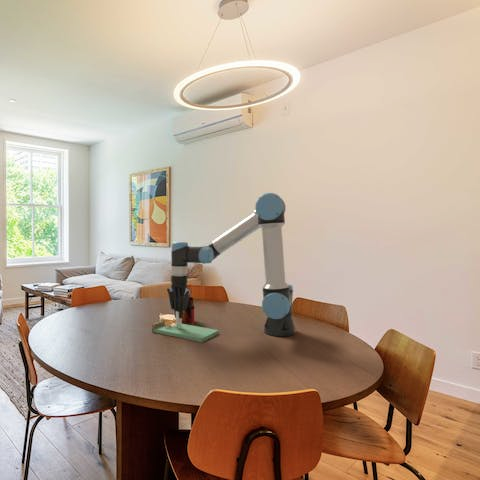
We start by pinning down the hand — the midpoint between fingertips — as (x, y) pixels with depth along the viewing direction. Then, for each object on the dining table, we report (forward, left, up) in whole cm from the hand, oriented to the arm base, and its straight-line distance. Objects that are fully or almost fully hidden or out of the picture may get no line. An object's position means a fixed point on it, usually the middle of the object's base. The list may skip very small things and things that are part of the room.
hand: (178, 324), depth 161 cm
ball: (+3, -1, -2) cm, 4 cm away
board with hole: (-4, 0, -3) cm, 5 cm away
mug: (+6, -16, -4) cm, 17 cm away
